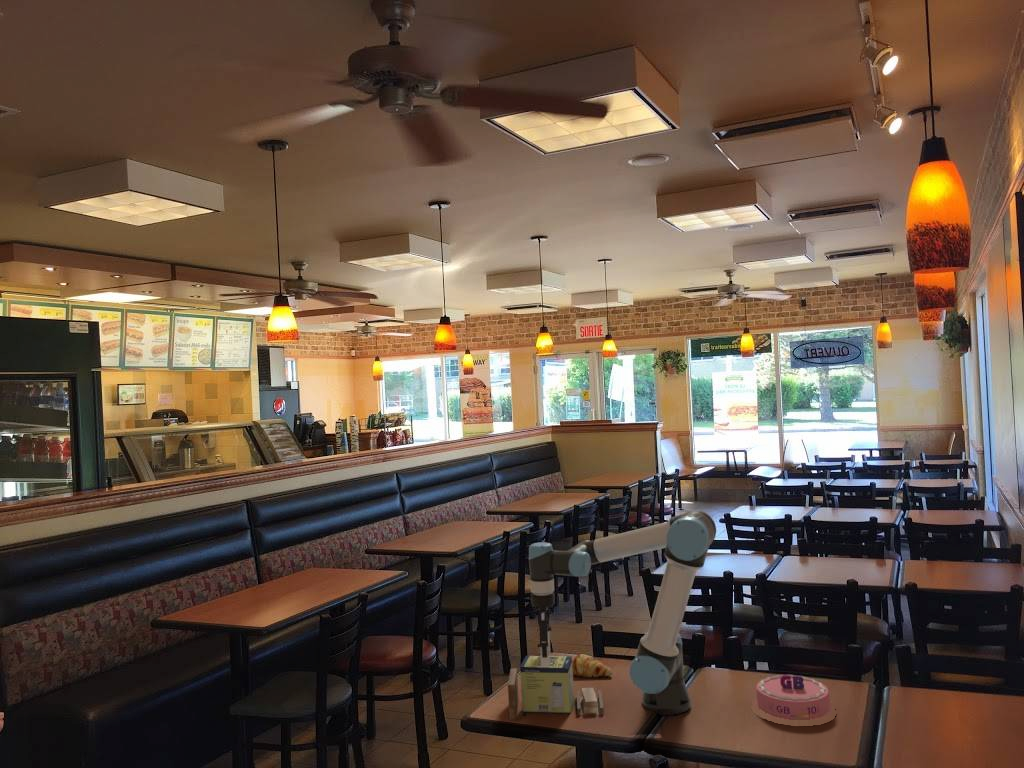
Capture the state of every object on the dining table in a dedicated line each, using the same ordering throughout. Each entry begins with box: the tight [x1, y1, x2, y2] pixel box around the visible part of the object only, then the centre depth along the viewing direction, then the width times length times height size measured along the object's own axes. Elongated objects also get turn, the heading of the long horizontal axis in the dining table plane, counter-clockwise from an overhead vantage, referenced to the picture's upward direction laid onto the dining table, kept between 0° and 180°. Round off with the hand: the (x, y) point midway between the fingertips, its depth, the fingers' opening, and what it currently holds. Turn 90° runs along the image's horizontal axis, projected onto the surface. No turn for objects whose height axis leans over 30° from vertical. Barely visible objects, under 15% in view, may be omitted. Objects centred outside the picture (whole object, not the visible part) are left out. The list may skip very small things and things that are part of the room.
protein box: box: [519, 655, 576, 717], centre depth 252 cm, size 10×16×16 cm
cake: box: [755, 674, 831, 720], centre depth 242 cm, size 25×25×11 cm
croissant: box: [571, 653, 613, 678], centre depth 282 cm, size 21×10×8 cm, turn 61°
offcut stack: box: [581, 687, 598, 714], centre depth 251 cm, size 4×12×4 cm, turn 176°
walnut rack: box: [507, 667, 605, 721], centre depth 251 cm, size 29×14×11 cm, turn 86°
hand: (545, 659), depth 252 cm, fingers open, 13 cm apart
